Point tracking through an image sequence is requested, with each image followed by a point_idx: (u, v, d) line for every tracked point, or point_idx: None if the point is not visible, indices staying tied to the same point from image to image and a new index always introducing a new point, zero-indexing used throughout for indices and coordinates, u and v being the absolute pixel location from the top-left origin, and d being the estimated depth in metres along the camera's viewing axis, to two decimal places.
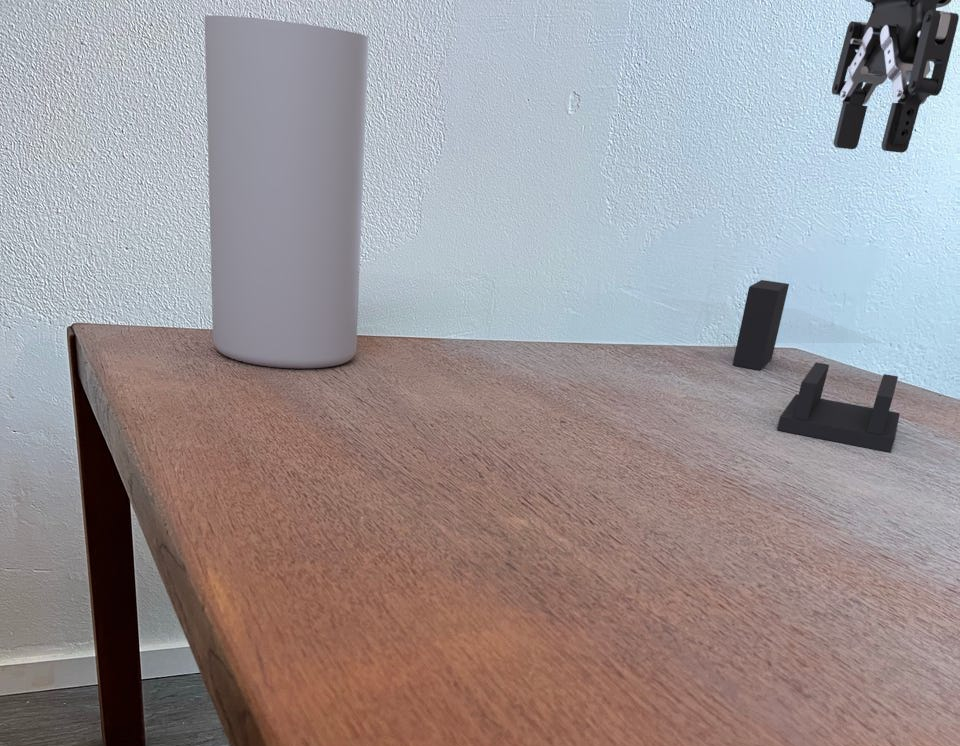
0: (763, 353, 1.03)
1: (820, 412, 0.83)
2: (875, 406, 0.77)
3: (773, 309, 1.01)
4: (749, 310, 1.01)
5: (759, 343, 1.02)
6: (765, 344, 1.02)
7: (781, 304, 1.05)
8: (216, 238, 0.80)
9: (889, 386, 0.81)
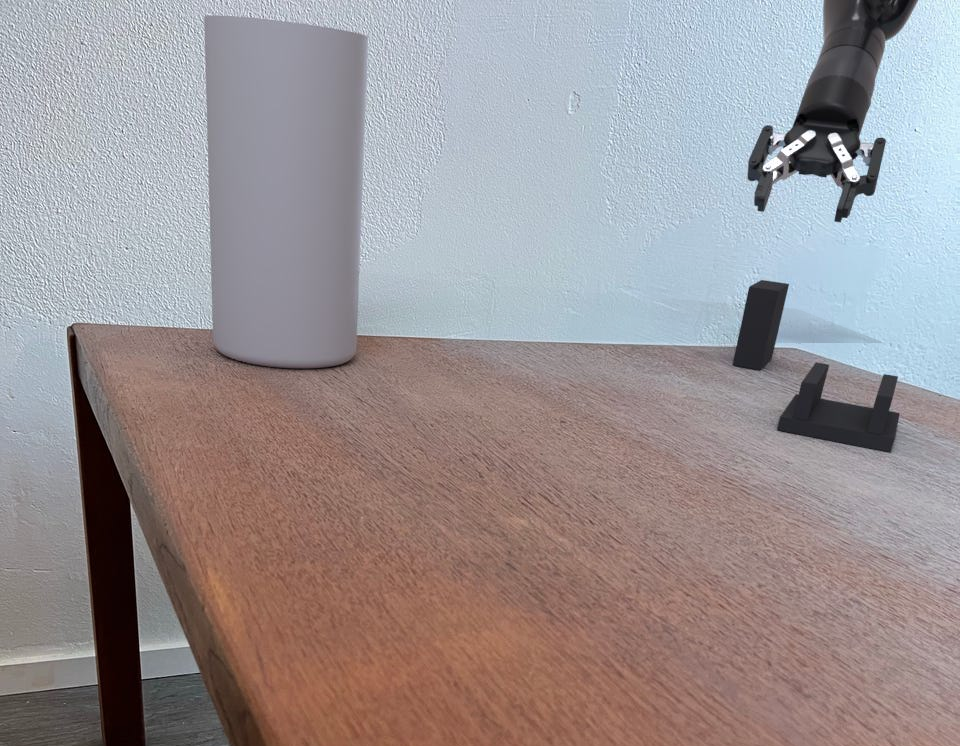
0: (763, 353, 1.03)
1: (820, 412, 0.83)
2: (875, 406, 0.77)
3: (773, 309, 1.01)
4: (749, 310, 1.01)
5: (759, 343, 1.02)
6: (765, 344, 1.02)
7: (781, 304, 1.05)
8: (216, 238, 0.80)
9: (889, 386, 0.81)
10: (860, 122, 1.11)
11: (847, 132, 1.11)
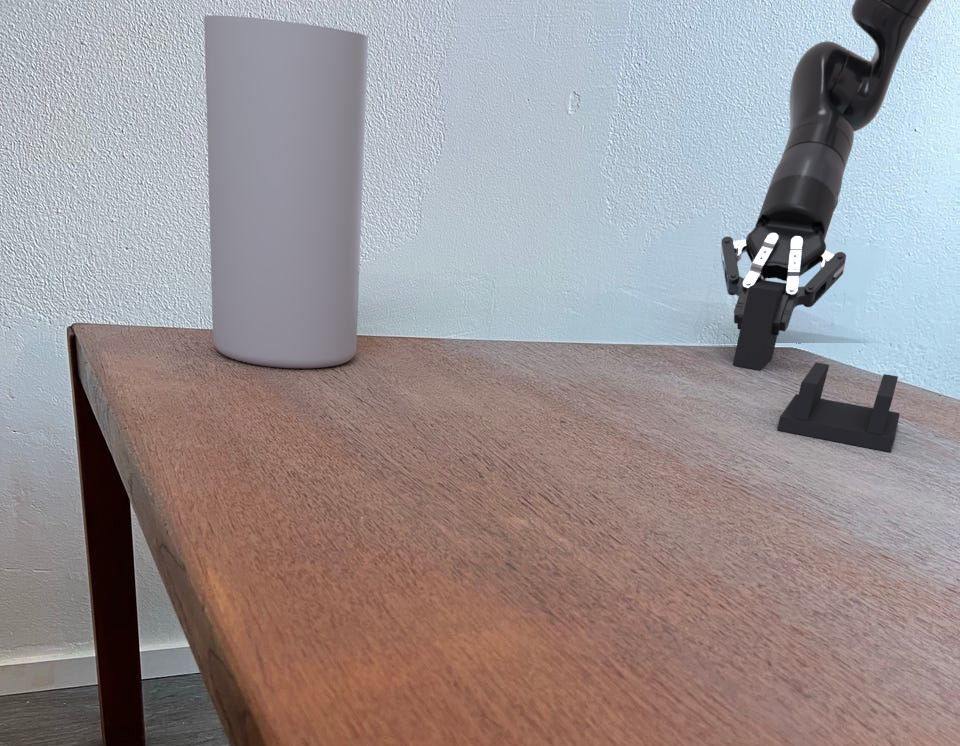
0: (763, 353, 1.03)
1: (820, 412, 0.83)
2: (875, 406, 0.77)
3: (773, 309, 1.01)
4: (750, 310, 1.01)
5: (759, 343, 1.02)
6: (765, 344, 1.02)
7: None
8: (216, 238, 0.80)
9: (889, 386, 0.81)
10: (825, 224, 1.05)
11: (812, 235, 1.05)
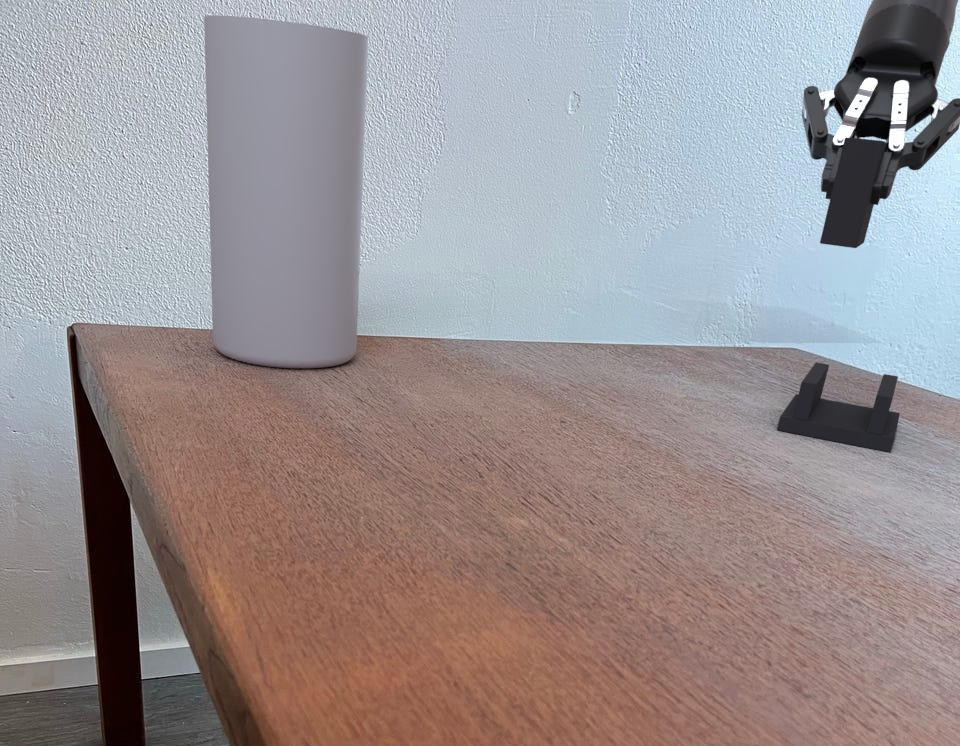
0: (860, 225, 0.81)
1: (820, 412, 0.83)
2: (875, 406, 0.77)
3: (876, 166, 0.79)
4: (845, 168, 0.80)
5: (856, 212, 0.81)
6: (863, 213, 0.81)
7: None
8: (216, 238, 0.80)
9: (889, 386, 0.81)
10: (937, 66, 0.83)
11: (920, 80, 0.83)
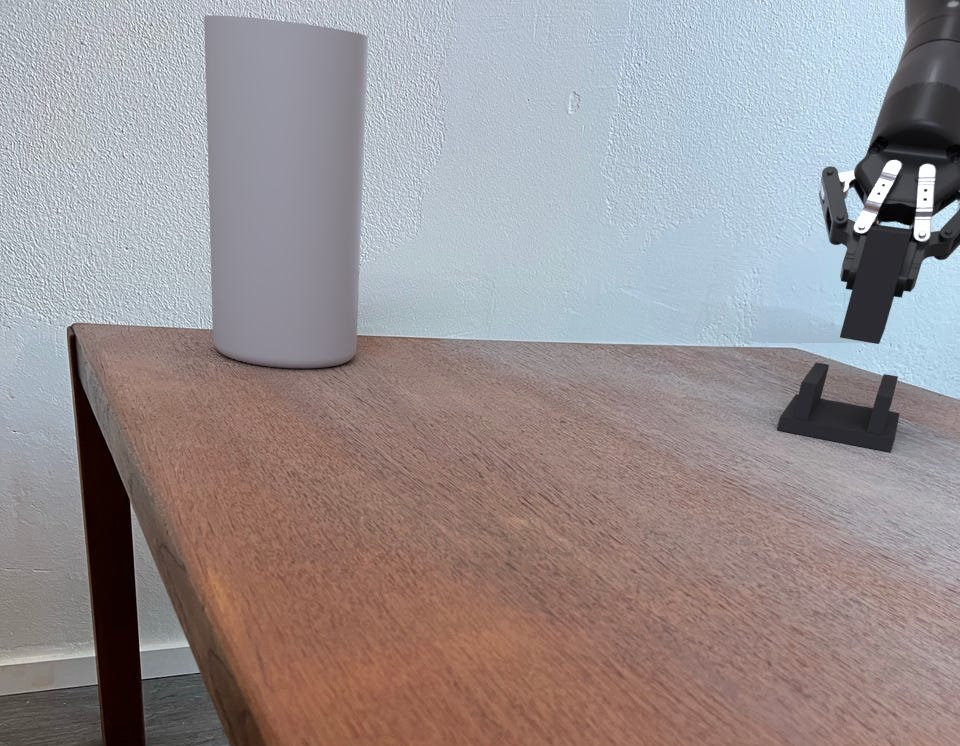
0: (884, 321, 0.76)
1: (820, 412, 0.83)
2: (875, 406, 0.77)
3: (901, 260, 0.74)
4: (868, 261, 0.75)
5: (879, 307, 0.75)
6: (887, 308, 0.75)
7: None
8: (216, 238, 0.80)
9: (889, 386, 0.81)
10: None
11: (946, 163, 0.78)
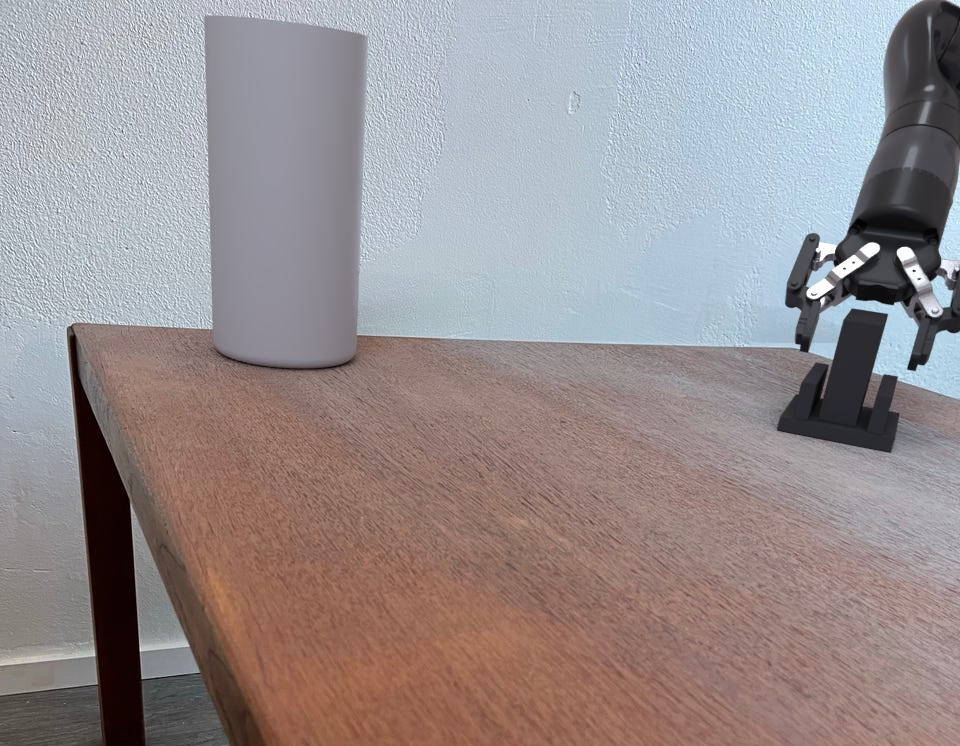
0: (859, 405, 0.79)
1: None
2: (875, 406, 0.77)
3: (875, 349, 0.77)
4: (843, 349, 0.78)
5: (855, 392, 0.79)
6: (862, 394, 0.78)
7: (880, 340, 0.81)
8: (216, 238, 0.80)
9: (889, 386, 0.81)
10: (941, 231, 0.81)
11: (923, 245, 0.81)
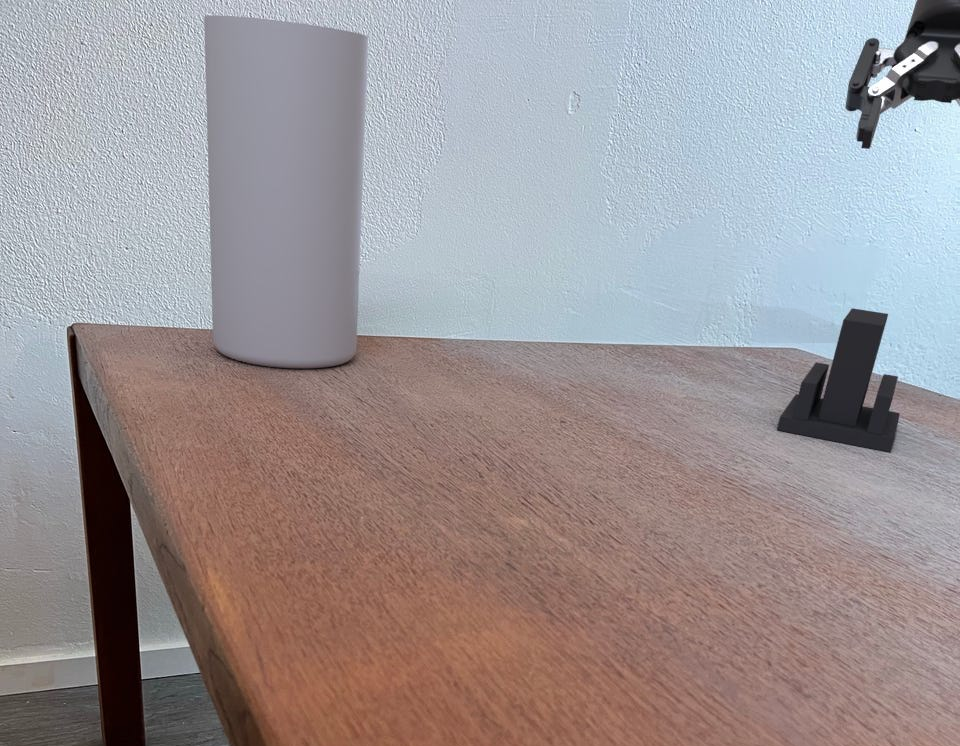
0: (859, 405, 0.79)
1: None
2: (875, 406, 0.77)
3: (875, 349, 0.77)
4: (843, 349, 0.78)
5: (855, 392, 0.79)
6: (862, 394, 0.78)
7: (880, 340, 0.81)
8: (216, 238, 0.80)
9: (889, 386, 0.81)
10: None
11: None
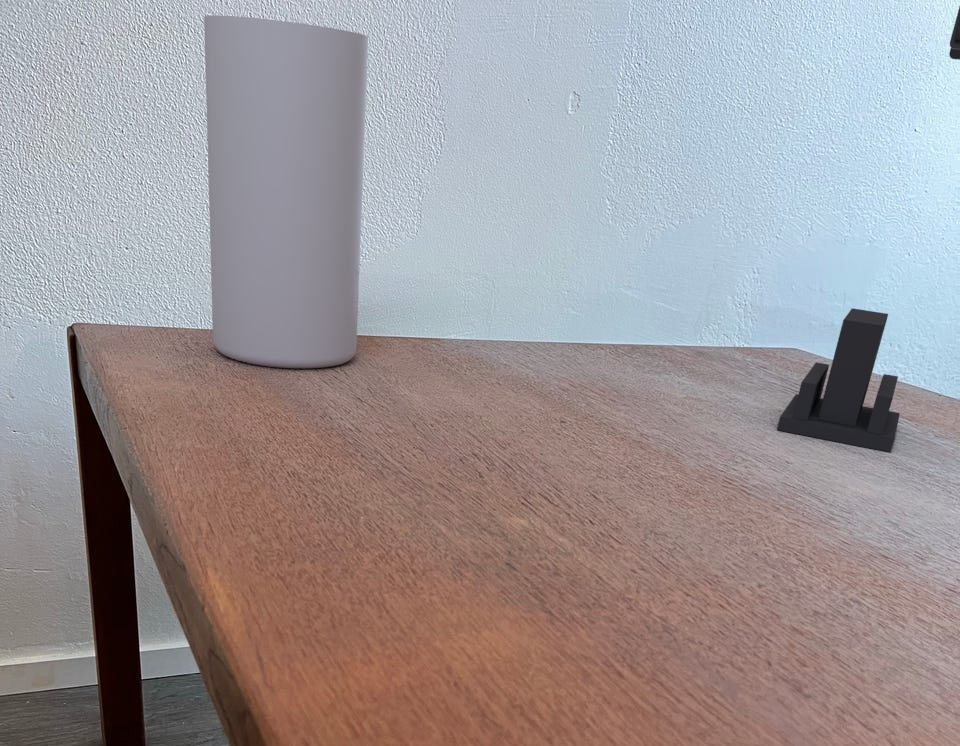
0: (859, 405, 0.79)
1: None
2: (875, 406, 0.77)
3: (875, 349, 0.77)
4: (843, 349, 0.78)
5: (855, 392, 0.79)
6: (862, 394, 0.78)
7: (880, 340, 0.81)
8: (216, 238, 0.80)
9: (889, 386, 0.81)
10: None
11: None
